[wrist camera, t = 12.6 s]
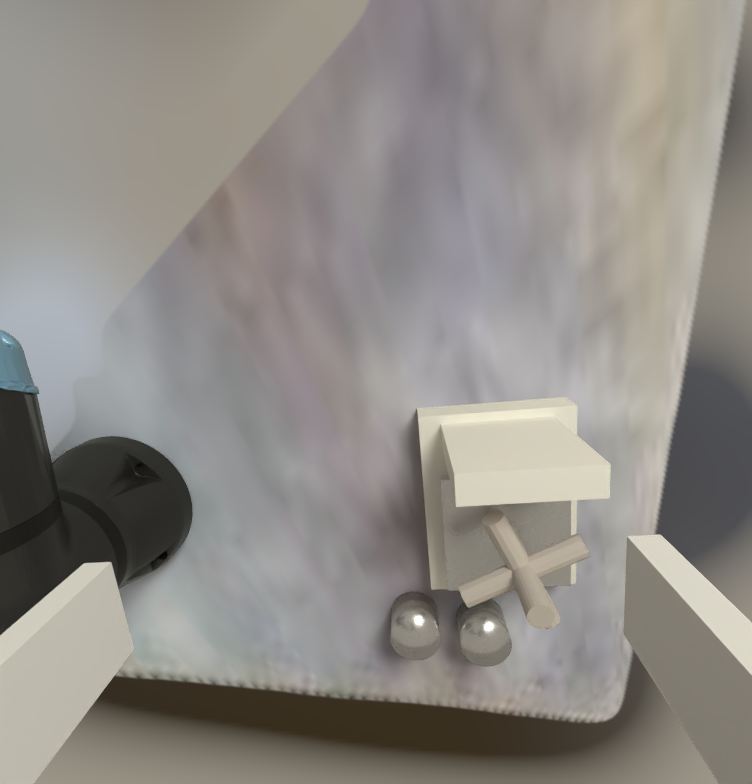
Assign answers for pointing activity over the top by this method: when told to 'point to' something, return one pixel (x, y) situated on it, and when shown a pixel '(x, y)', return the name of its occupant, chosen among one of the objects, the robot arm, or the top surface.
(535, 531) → the pan
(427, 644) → the cylinder
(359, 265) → the top surface
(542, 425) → the scale base
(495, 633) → the cylinder
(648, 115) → the top surface
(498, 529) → the cream toy jack
